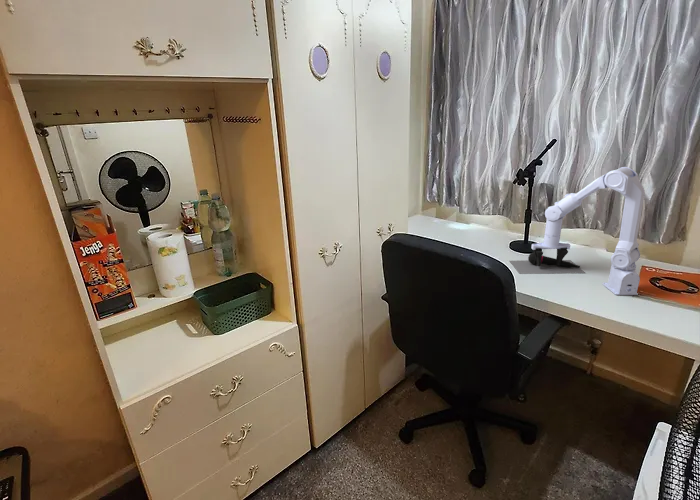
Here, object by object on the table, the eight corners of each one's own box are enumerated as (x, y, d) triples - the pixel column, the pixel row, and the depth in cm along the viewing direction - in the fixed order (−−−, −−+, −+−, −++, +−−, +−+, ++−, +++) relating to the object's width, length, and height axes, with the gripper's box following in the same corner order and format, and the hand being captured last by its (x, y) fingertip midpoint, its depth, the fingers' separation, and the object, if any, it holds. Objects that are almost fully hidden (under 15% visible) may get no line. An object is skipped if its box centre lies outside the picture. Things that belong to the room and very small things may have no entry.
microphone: (576, 273, 162) (526, 263, 168) (579, 259, 162) (529, 250, 168) (579, 274, 157) (527, 264, 163) (583, 260, 156) (530, 250, 162)
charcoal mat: (585, 273, 155) (585, 273, 155) (519, 273, 157) (519, 273, 157) (570, 260, 168) (570, 259, 168) (509, 260, 171) (509, 260, 170)
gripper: (566, 230, 159) (562, 261, 163) (530, 231, 160) (526, 261, 165) (574, 236, 152) (569, 267, 157) (536, 236, 153) (532, 268, 158)
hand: (548, 265), depth 160 cm, fingers open, 7 cm apart
